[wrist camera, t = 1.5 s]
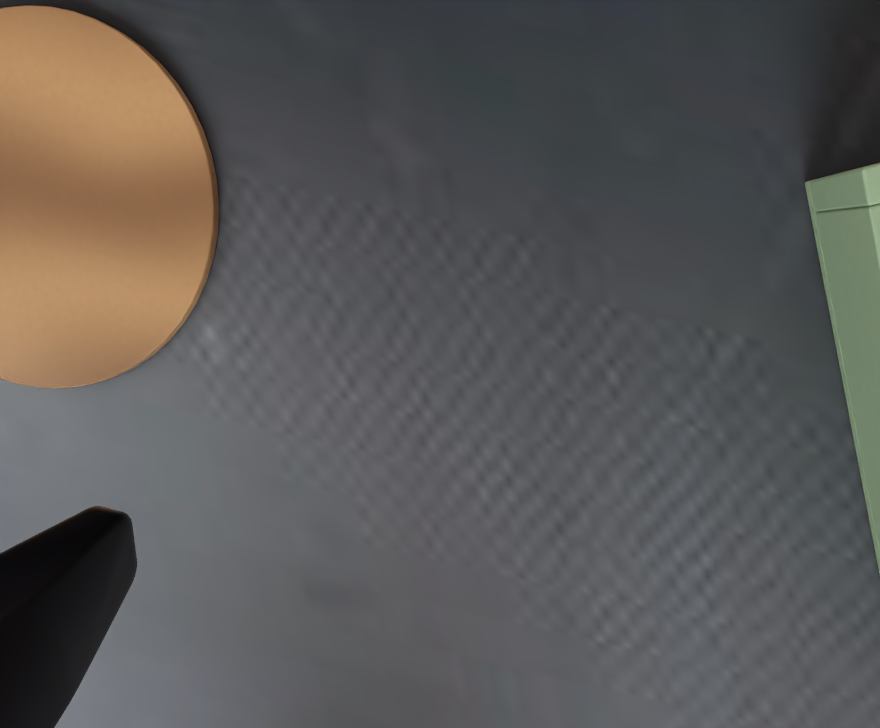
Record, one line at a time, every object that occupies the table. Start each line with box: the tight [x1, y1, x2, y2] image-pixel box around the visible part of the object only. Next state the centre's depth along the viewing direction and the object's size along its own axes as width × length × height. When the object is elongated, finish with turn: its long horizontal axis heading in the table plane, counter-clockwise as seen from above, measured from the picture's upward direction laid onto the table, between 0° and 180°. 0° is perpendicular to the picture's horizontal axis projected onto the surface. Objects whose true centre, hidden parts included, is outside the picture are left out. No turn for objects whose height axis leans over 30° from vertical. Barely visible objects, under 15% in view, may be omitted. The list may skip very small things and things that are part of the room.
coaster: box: [0, 5, 219, 388], centre depth 24 cm, size 11×11×1 cm
